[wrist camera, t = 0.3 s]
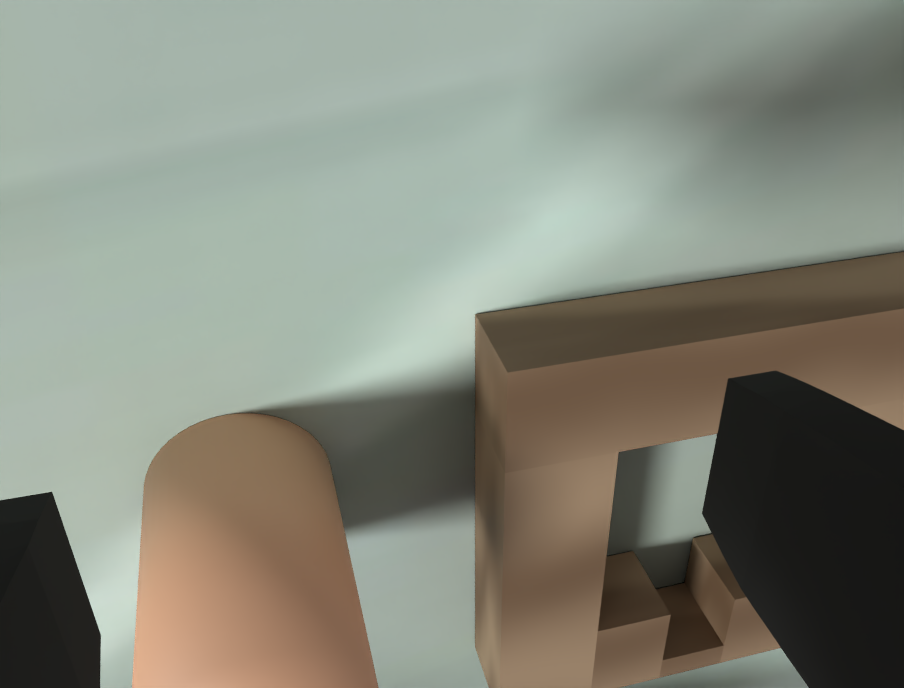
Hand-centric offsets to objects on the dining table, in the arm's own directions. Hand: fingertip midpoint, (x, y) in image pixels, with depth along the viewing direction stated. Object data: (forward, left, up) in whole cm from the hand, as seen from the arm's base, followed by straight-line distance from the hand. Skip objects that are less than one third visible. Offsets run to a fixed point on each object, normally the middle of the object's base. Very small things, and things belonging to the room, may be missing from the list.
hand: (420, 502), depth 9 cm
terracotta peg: (-8, +3, -10) cm, 13 cm away
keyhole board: (-10, -9, -10) cm, 17 cm away
